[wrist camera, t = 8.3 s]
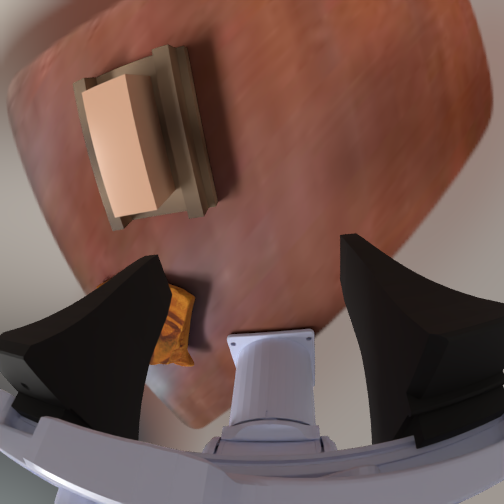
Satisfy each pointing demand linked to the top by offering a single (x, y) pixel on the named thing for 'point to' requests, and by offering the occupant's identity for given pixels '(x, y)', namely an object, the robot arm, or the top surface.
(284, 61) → the top surface
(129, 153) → the clay strip
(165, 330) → the pottery fragment
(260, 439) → the robot arm
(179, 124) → the grey u-channel
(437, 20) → the top surface
